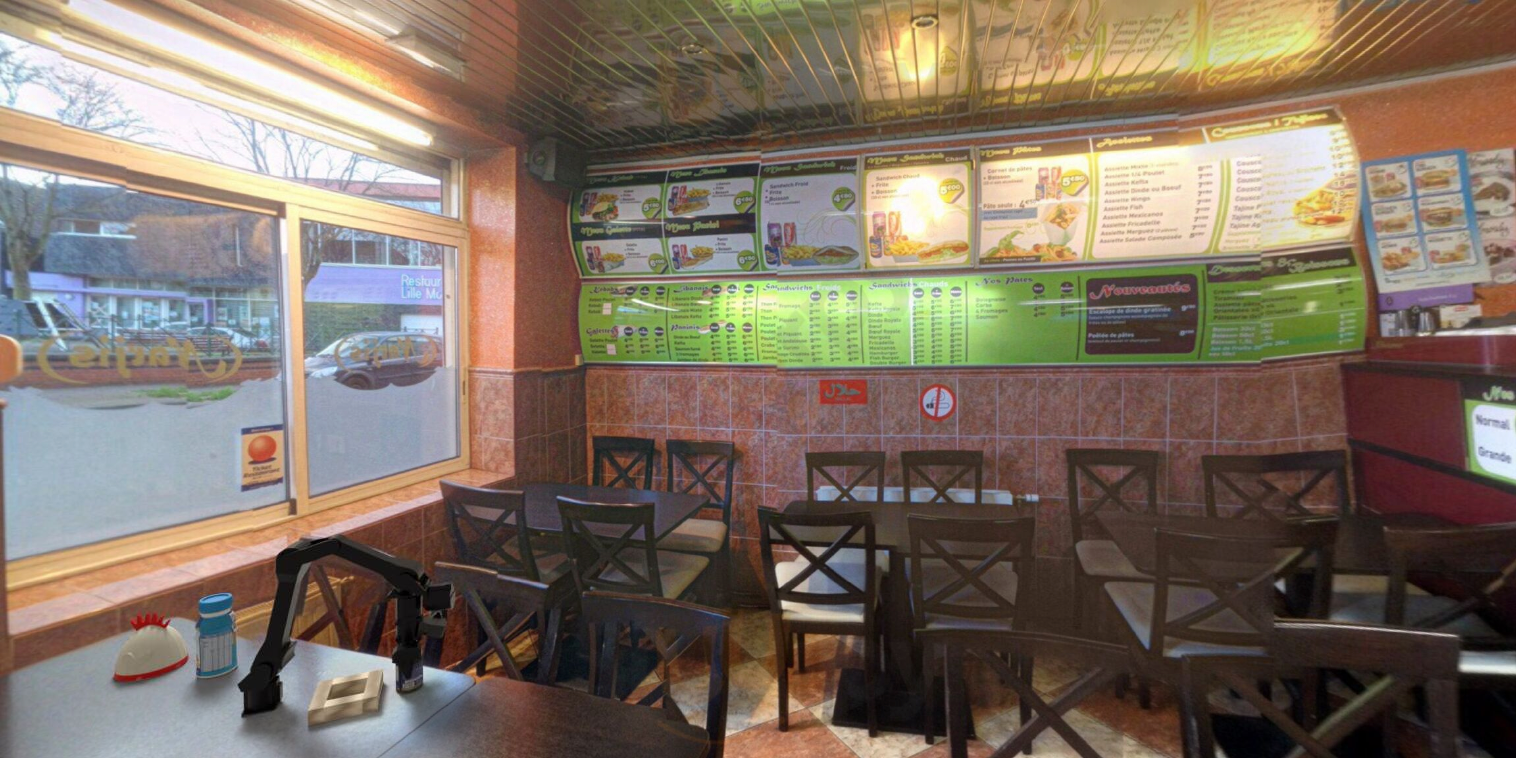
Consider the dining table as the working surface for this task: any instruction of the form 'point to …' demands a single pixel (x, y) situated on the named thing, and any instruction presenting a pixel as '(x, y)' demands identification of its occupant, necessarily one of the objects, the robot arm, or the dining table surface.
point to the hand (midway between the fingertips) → (409, 672)
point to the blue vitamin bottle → (216, 636)
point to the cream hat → (150, 650)
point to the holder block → (347, 706)
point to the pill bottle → (415, 680)
